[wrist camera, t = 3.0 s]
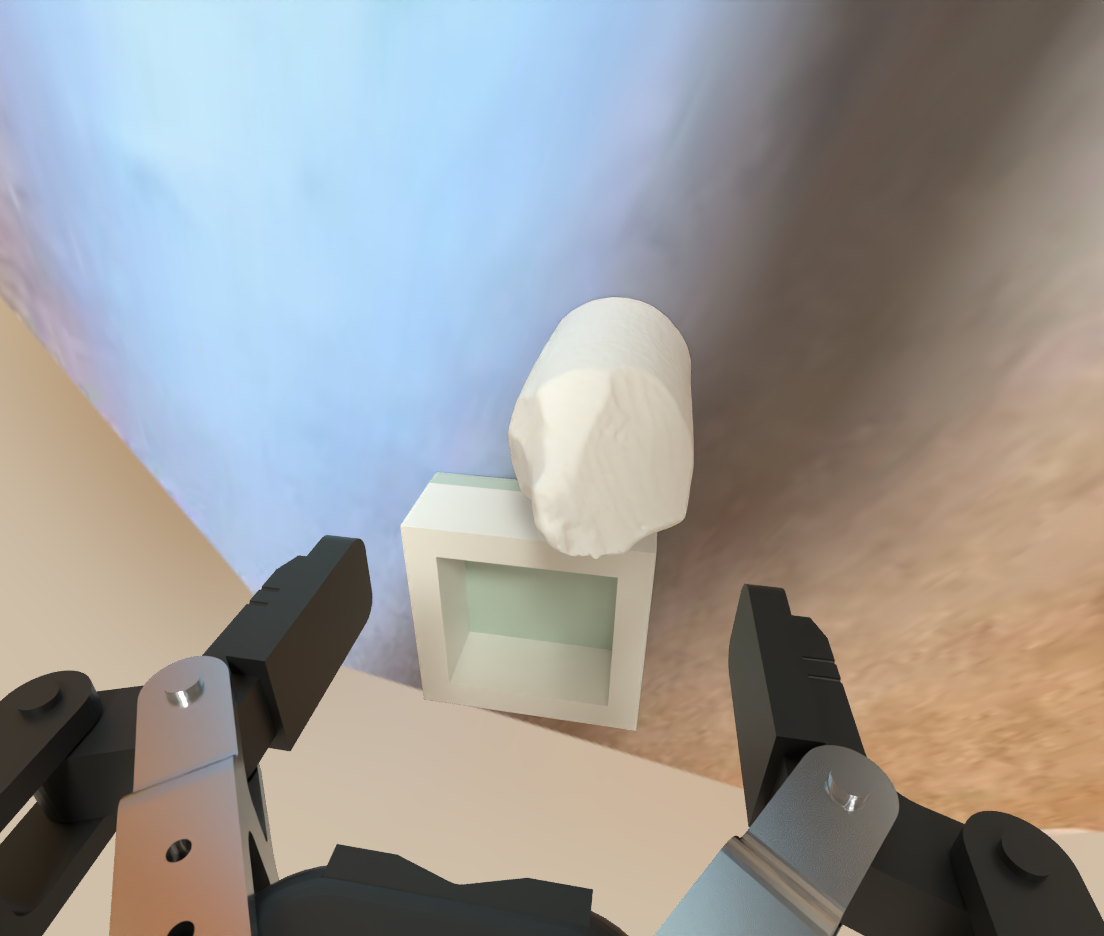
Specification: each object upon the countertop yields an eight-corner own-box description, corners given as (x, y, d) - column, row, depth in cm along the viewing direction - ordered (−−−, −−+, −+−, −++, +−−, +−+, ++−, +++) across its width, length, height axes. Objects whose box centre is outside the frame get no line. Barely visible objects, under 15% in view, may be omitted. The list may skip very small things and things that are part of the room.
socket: (658, 492, 28) (656, 553, 24) (640, 658, 33) (636, 730, 29) (436, 472, 29) (400, 526, 25) (451, 634, 34) (424, 699, 30)
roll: (759, 530, 14) (614, 661, 17) (720, 354, 24) (635, 454, 27) (538, 380, 13) (423, 546, 16) (596, 264, 23) (520, 377, 26)
